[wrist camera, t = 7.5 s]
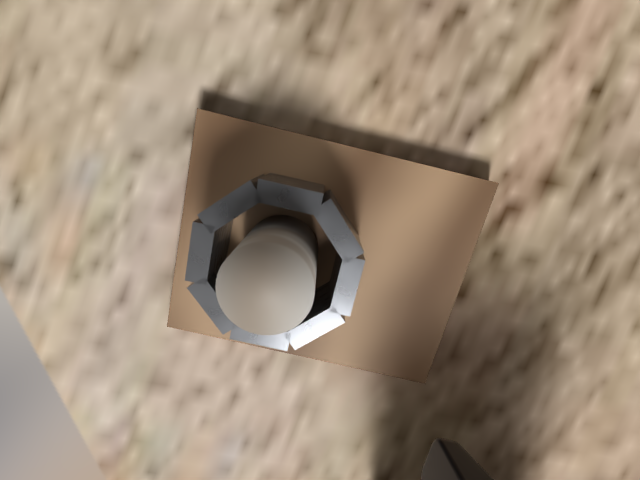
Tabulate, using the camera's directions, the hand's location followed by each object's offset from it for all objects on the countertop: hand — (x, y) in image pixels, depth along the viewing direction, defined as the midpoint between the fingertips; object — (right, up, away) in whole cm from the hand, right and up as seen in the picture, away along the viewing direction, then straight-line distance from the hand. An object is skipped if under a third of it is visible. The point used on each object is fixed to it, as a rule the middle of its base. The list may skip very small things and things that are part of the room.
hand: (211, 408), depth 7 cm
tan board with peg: (+2, +3, +11) cm, 12 cm away
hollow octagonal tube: (0, +3, +10) cm, 11 cm away
